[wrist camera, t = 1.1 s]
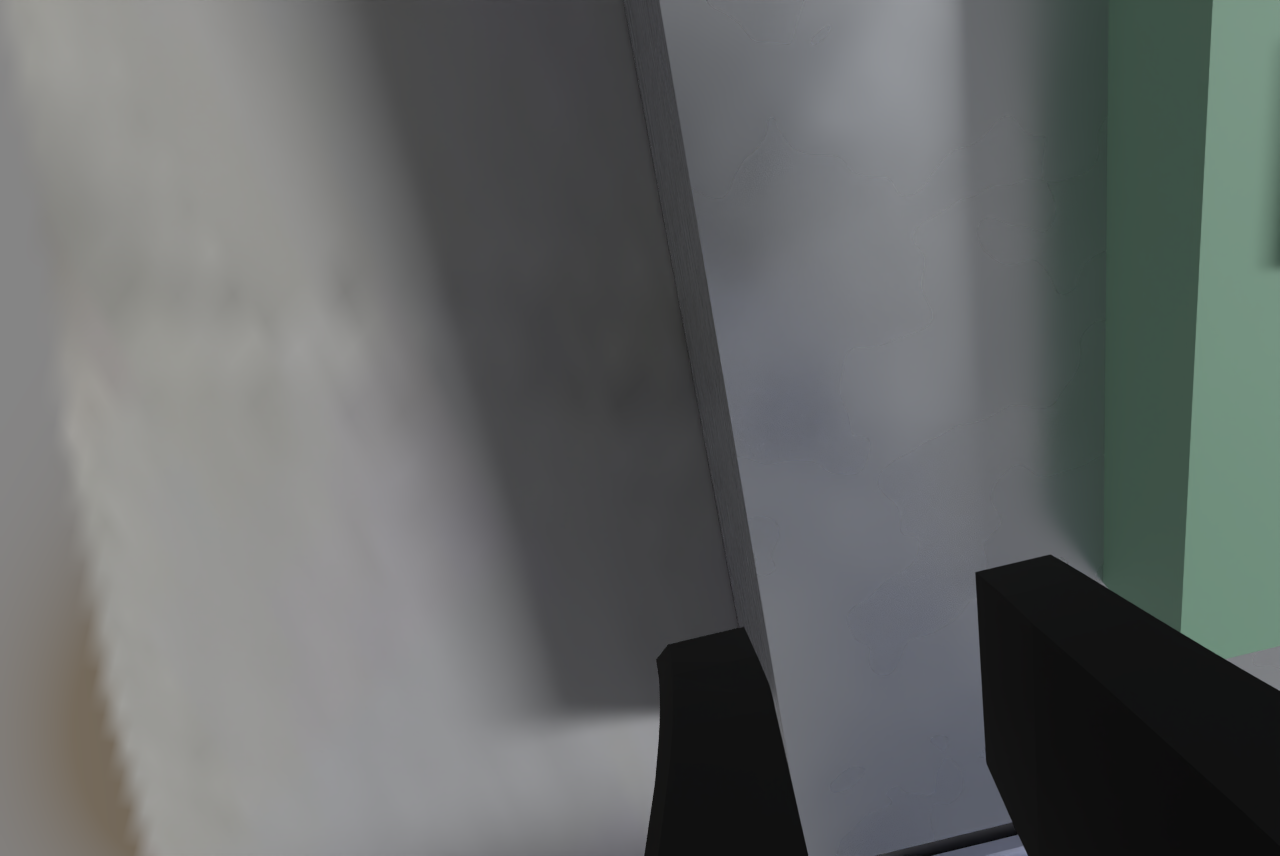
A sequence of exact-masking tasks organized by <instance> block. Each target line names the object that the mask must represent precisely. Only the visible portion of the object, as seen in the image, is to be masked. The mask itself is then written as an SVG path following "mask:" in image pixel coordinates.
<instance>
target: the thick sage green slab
mask: <svg viewBox="0 0 1280 856" xmlns="http://www.w3.org/2000/svg"><path fill="white" fill-rule="evenodd" d="M1103 583H1104V584H1105V585H1106V587H1107V588H1108V589H1110V590H1111V591H1113V592H1115V593H1116V594H1118V595H1119V596H1121V597H1123V598H1124V599H1126V600H1128V601H1129V602H1131V603H1133V604H1134V605H1136V606H1137V607H1139V608H1141V609H1142V610H1144V611H1146V612H1147V613H1149V614H1151V615H1152V616H1154V617H1155V618H1157V619H1159V620H1160V621H1162V622H1164V623H1165V624H1167V625H1169V626H1170V627H1172V628H1174V629H1175V630H1177V631H1179V632H1180V633H1182V634H1184V635H1185V636H1187V637H1189V638H1190V639H1192V640H1194V641H1195V642H1197V643H1199V644H1200V645H1202V646H1204V647H1205V648H1207V649H1209V650H1210V651H1212V652H1214V653H1216V654H1217V655H1219V656H1221V657H1222V658H1224V659H1228V658H1232V657H1236V656H1240V655H1245V654H1249V653H1253V652H1257V651H1261V650H1265V649H1269V648H1274V647H1278V646H1280V0H1109V17H1108V124H1107V231H1106V338H1105V445H1104V552H1103Z"/></svg>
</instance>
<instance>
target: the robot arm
mask: <svg viewBox="0 0 1280 856" xmlns="http://www.w3.org/2000/svg"><path fill="white" fill-rule="evenodd" d="M975 577H976V594H977V612H978V630H979V647H980V665H981V682H982V700H983V717H984V735H985V753H986V764H987V766H988V768H989V771H990V773H991V775H992V777H993V780H994V782H995V784H996V786H997V789H998V791H999V793H1000V795H1001V798H1002V800H1003V802H1004V804H1005V807H1006V809H1007V811H1008V814H1009V816H1010V818H1011V820H1012V823H1013V825H1014V827H1015V829H1016V831H1017V833H1018V835H1015V836H1011V837H1006V838H1002V839H998V840H994V841H990V842H986V843H982V844H978V845H974V846H970V847H965V848H961V849H957V850H953V851H949V852H945V853H941V854H937V855H933V856H1280V691H1279V690H1278V689H1276V688H1274V687H1272V686H1271V685H1269V684H1267V683H1265V682H1264V681H1262V680H1260V679H1258V678H1257V677H1255V676H1253V675H1251V674H1250V673H1248V672H1246V671H1244V670H1243V669H1241V668H1239V667H1238V666H1236V665H1234V664H1233V663H1231V662H1229V661H1227V660H1226V659H1224V658H1222V657H1221V656H1219V655H1217V654H1216V653H1214V652H1212V651H1210V650H1209V649H1207V648H1205V647H1204V646H1202V645H1200V644H1199V643H1197V642H1195V641H1194V640H1192V639H1190V638H1189V637H1187V636H1185V635H1184V634H1182V633H1180V632H1179V631H1177V630H1175V629H1174V628H1172V627H1170V626H1169V625H1167V624H1165V623H1164V622H1162V621H1160V620H1159V619H1157V618H1155V617H1154V616H1152V615H1151V614H1149V613H1147V612H1146V611H1144V610H1142V609H1141V608H1139V607H1137V606H1136V605H1134V604H1133V603H1131V602H1129V601H1128V600H1126V599H1124V598H1123V597H1121V596H1119V595H1118V594H1116V593H1115V592H1113V591H1111V590H1110V589H1108V588H1106V587H1105V586H1103V585H1101V584H1100V583H1098V582H1097V581H1095V580H1093V579H1092V578H1090V577H1088V576H1087V575H1085V574H1083V573H1082V572H1080V571H1078V570H1077V569H1075V568H1073V567H1072V566H1070V565H1068V564H1066V563H1065V562H1063V561H1061V560H1060V559H1058V558H1056V557H1054V556H1053V555H1051V554H1050V555H1046V556H1041V557H1037V558H1033V559H1029V560H1024V561H1020V562H1016V563H1012V564H1007V565H1003V566H999V567H995V568H991V569H986V570H982V571H978V572H975ZM657 667H658V674H659V684H660V728H659V744H658V756H657V767H656V778H655V788H654V794H653V801H652V808H651V815H650V821H649V828H648V835H647V842H646V848H645V855H644V856H808V852H807V847H806V843H805V838H804V834H803V829H802V825H801V821H800V816H799V812H798V807H797V803H796V798H795V794H794V789H793V785H792V781H791V776H790V772H789V767H788V763H787V758H786V754H785V750H784V745H783V741H782V736H781V732H780V727H779V723H778V719H777V714H776V710H775V705H774V701H773V697H772V692H771V688H770V685H769V682H768V680H767V678H766V675H765V673H764V671H763V668H762V666H761V663H760V661H759V659H758V656H757V654H756V652H755V650H754V647H753V645H752V643H751V641H750V639H749V637H748V634H747V632H746V630H745V628H744V627H741V628H737V629H732V630H728V631H724V632H720V633H716V634H711V635H707V636H703V637H699V638H694V639H690V640H686V641H682V642H677V643H673V644H669V645H668V646H667V647H666V648H665V649H664V651H663V652H662V653H661V654H660V656H659V657H658V658H657Z"/></svg>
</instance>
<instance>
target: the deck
mask: <svg viewBox="0 0 1280 856" xmlns="http://www.w3.org/2000/svg"><path fill="white" fill-rule="evenodd" d="M623 1H624V6H625V12H626V17H627V23H628V28H629V33H630V39H631V44H632V50H633V55H634V61H635V66H636V71H637V77H638V82H639V88H640V93H641V99H642V104H643V109H644V115H645V120H646V126H647V131H648V137H649V142H650V147H651V153H652V158H653V164H654V169H655V175H656V180H657V185H658V191H659V196H660V202H661V207H662V213H663V218H664V223H665V229H666V234H667V240H668V245H669V251H670V256H671V261H672V267H673V272H674V278H675V283H676V289H677V294H678V299H679V305H680V310H681V316H682V321H683V327H684V332H685V337H686V343H687V348H688V354H689V359H690V365H691V370H692V375H693V381H694V386H695V392H696V397H697V402H698V408H699V413H700V419H701V424H702V430H703V435H704V440H705V446H706V451H707V457H708V462H709V468H710V473H711V478H712V484H713V489H714V495H715V500H716V506H717V511H718V516H719V522H720V527H721V533H722V538H723V544H724V549H725V554H726V560H727V565H728V571H729V576H730V582H731V587H732V592H733V598H734V603H735V609H736V614H737V620H738V625H739V628H741V627H744V628H745V630H746V632H747V634H748V637H749V639H750V641H751V643H752V645H753V647H754V650H755V652H756V654H757V656H758V659H759V661H760V663H761V666H762V668H763V671H764V673H765V675H766V678H767V680H768V682H769V685H770V688H771V692H772V697H773V701H774V705H775V710H776V714H777V719H778V723H779V727H780V732H781V736H782V741H783V745H784V750H785V754H786V758H787V763H788V767H789V772H790V776H791V781H792V785H793V789H794V794H795V798H796V803H797V807H798V812H799V816H800V821H801V825H802V829H803V834H804V838H805V843H806V847H807V852H808V856H876V855H880V854H885V853H889V852H893V851H897V850H901V849H905V848H909V847H913V846H917V845H922V844H926V843H930V842H934V841H938V840H942V839H946V838H950V837H954V836H959V835H963V834H967V833H971V832H975V831H979V830H983V829H987V828H991V827H996V826H1000V825H1004V824H1008V823H1012V820H1011V818H1010V816H1009V814H1008V811H1007V809H1006V807H1005V804H1004V802H1003V800H1002V798H1001V795H1000V793H999V791H998V789H997V786H996V784H995V782H994V780H993V777H992V775H991V773H990V771H989V768H988V766H987V764H986V753H985V735H984V717H983V700H982V682H981V665H980V647H979V630H978V612H977V594H976V577H975V572H978V571H982V570H986V569H991V568H995V567H999V566H1003V565H1007V564H1012V563H1016V562H1020V561H1024V560H1029V559H1033V558H1037V557H1041V556H1046V555H1050V554H1051V555H1053V556H1054V557H1056V558H1058V559H1060V560H1061V561H1063V562H1065V563H1066V564H1068V565H1070V566H1072V567H1073V568H1075V569H1077V570H1078V571H1080V572H1082V573H1083V574H1085V575H1087V576H1088V577H1090V578H1092V579H1093V580H1095V581H1097V582H1098V583H1100V584H1101V585H1103V586H1105V587H1106V585H1105V584H1104V583H1103V552H1104V445H1105V338H1106V231H1107V124H1108V17H1109V0H623ZM1106 588H1107V587H1106ZM1226 660H1227V661H1229V662H1231V663H1233V664H1234V665H1236V666H1238V667H1239V668H1241V669H1243V670H1244V671H1246V672H1248V673H1250V674H1251V675H1253V676H1255V677H1257V678H1258V679H1260V680H1262V681H1264V682H1265V683H1267V684H1269V685H1271V686H1272V687H1274V688H1276V689H1278V690H1279V691H1280V646H1278V647H1274V648H1269V649H1265V650H1261V651H1257V652H1253V653H1249V654H1245V655H1240V656H1236V657H1232V658H1228V659H1226Z"/></svg>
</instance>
